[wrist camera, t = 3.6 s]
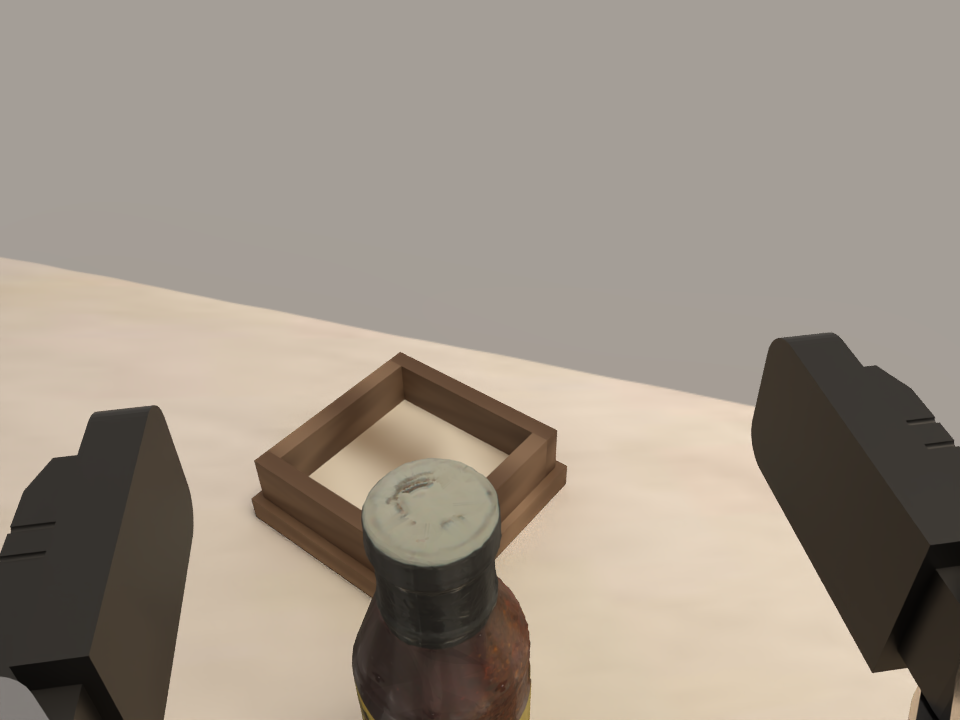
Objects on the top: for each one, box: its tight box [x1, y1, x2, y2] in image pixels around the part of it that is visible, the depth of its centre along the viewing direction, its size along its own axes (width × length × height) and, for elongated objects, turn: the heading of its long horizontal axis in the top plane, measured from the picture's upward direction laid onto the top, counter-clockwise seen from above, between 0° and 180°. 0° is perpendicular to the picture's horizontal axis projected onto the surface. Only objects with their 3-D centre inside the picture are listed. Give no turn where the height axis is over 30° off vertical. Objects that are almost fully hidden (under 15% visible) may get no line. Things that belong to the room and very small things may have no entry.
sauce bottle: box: [352, 458, 531, 720], centre depth 31 cm, size 7×6×20 cm
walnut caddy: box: [252, 352, 567, 598], centre depth 50 cm, size 13×13×4 cm
